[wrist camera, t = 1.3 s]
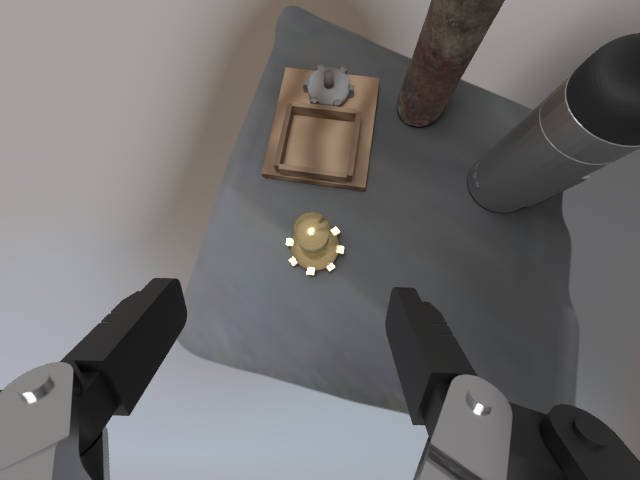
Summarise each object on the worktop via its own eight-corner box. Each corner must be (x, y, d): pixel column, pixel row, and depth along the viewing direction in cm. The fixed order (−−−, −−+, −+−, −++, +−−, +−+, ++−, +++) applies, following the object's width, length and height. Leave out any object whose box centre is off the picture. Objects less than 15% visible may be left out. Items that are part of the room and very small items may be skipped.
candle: (393, 90, 45) (444, -73, 26) (436, 88, 45) (521, -77, 25) (397, 129, 43) (456, -13, 24) (443, 127, 43) (539, -18, 24)
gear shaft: (346, 225, 40) (353, 200, 30) (339, 280, 38) (343, 272, 28) (293, 217, 40) (282, 190, 30) (282, 271, 38) (267, 260, 28)
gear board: (378, 83, 45) (384, 58, 41) (364, 191, 41) (369, 176, 36) (286, 73, 46) (282, 47, 42) (263, 177, 42) (255, 161, 37)
